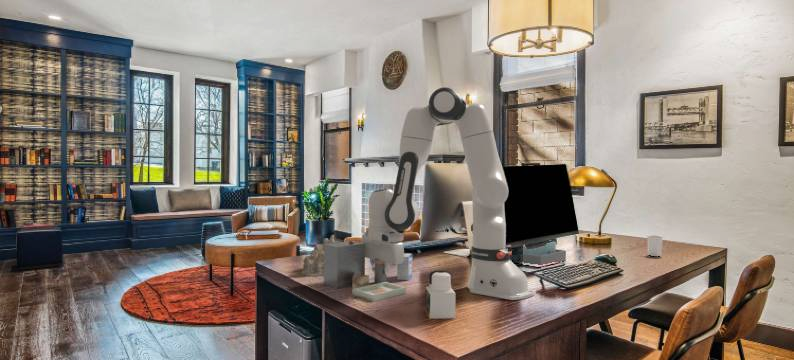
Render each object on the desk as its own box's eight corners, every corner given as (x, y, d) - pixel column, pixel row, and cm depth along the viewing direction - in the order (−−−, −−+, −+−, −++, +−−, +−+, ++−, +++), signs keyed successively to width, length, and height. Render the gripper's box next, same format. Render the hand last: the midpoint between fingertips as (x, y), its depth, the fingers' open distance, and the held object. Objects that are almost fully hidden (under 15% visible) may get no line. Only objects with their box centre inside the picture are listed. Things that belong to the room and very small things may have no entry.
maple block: (368, 287, 154) (368, 275, 154) (361, 289, 151) (361, 277, 150) (359, 285, 156) (359, 274, 156) (352, 288, 153) (352, 276, 153)
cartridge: (389, 283, 159) (389, 258, 159) (379, 285, 156) (380, 259, 156) (381, 280, 163) (381, 256, 162) (371, 282, 160) (371, 257, 159)
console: (364, 282, 160) (365, 241, 159) (337, 288, 151) (337, 245, 151) (350, 278, 166) (350, 239, 166) (323, 283, 158) (323, 242, 157)
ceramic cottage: (328, 265, 189) (327, 230, 188) (345, 274, 175) (344, 236, 174) (293, 271, 181) (291, 234, 180) (307, 281, 167) (306, 242, 166)
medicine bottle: (425, 311, 127) (425, 269, 127) (450, 310, 128) (450, 268, 128) (429, 319, 120) (429, 274, 120) (455, 318, 121) (455, 274, 121)
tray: (406, 293, 146) (406, 287, 146) (372, 301, 136) (372, 295, 136) (385, 287, 153) (385, 281, 153) (352, 294, 143) (352, 288, 143)
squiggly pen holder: (523, 265, 194) (523, 244, 194) (511, 261, 204) (511, 240, 204) (558, 263, 200) (559, 242, 200) (545, 259, 209) (545, 239, 209)
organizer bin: (565, 261, 202) (565, 250, 202) (540, 268, 187) (540, 256, 187) (537, 257, 212) (537, 246, 212) (511, 263, 197) (511, 251, 197)
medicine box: (408, 280, 163) (408, 257, 163) (396, 280, 164) (396, 256, 164) (412, 276, 171) (412, 253, 171) (400, 275, 172) (401, 252, 172)
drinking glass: (663, 257, 213) (664, 237, 213) (647, 256, 216) (648, 236, 216) (661, 255, 220) (661, 235, 219) (645, 254, 222) (646, 234, 222)
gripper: (355, 232, 165) (355, 269, 165) (393, 238, 150) (393, 279, 150) (369, 230, 169) (368, 267, 169) (406, 236, 154) (406, 276, 154)
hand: (380, 272), depth 159 cm, fingers closed on cartridge, 4 cm apart
